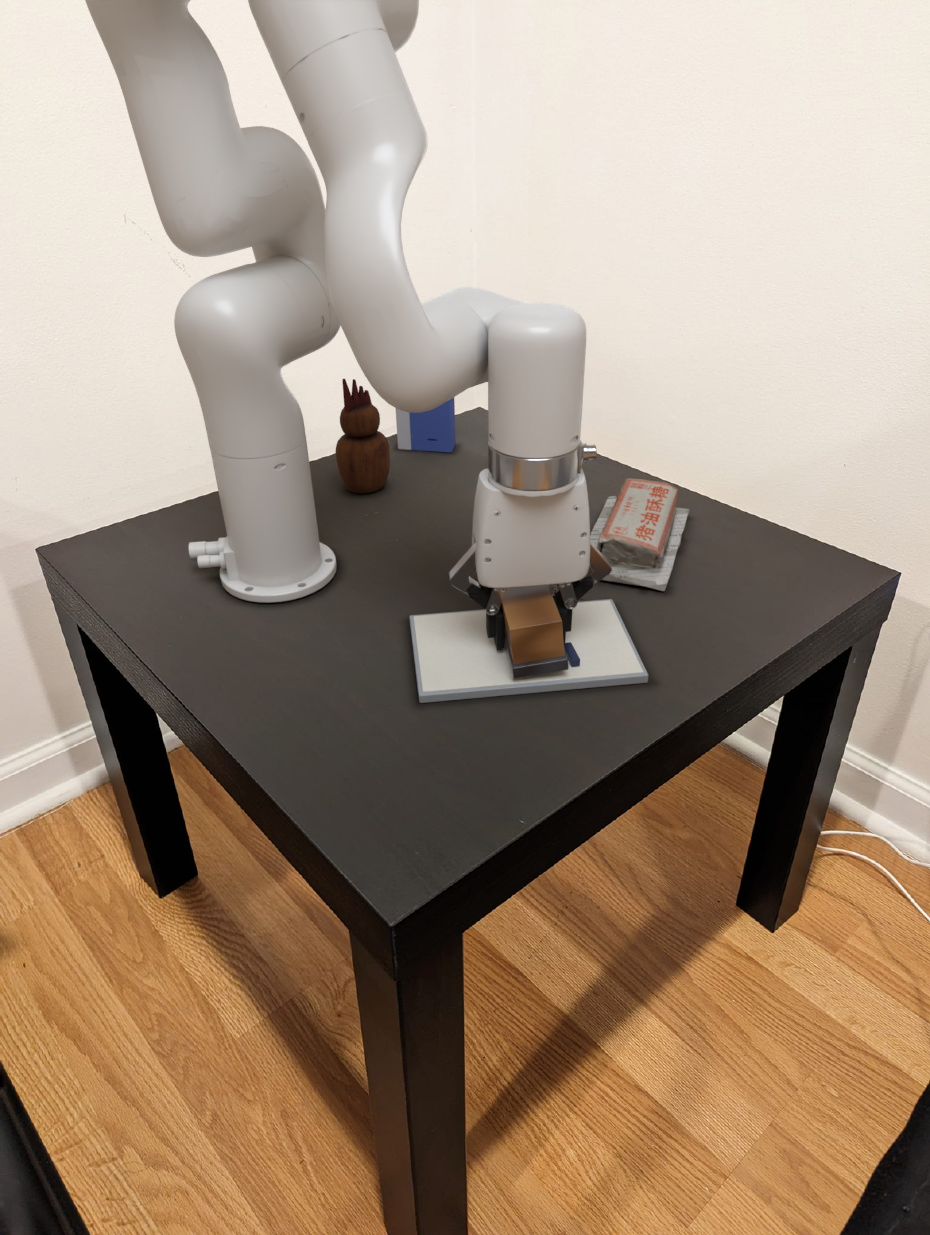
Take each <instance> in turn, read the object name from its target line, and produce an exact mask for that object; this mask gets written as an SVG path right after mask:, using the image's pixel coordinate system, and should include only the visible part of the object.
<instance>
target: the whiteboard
mask: <svg viewBox="0 0 930 1235" xmlns="http://www.w3.org/2000/svg"><path fill="white" fill-rule="evenodd" d="M577 602H578V604H577V606H576V607H575V608H573V610H572V626H571V631H570V632H566V639H565V643H568V642H571V643H572V645H573V647H574V649H575V651H576V652H577V654H578V656H579V658H580V666H577V667H571V665H570V663H569V661H568V668H569V669H568V670H563V671H557V672H551V673H545V674H539V675H533V676H527V677H521V678H515V679H514V678H513V675H512V671H511V667H510V664H509V660H508V656H507V652H506V649H505V645H504V648H503V649H502V650H497V649H496V645H495V641H494V638H488V636H487V631H486V610H485V609H484V608H482V609H473V610H471V609H470V610H459V611H449V612H447V611H446V612H437V613H424V614H423V613H422V614H412V615H409V627H410V628H409V629H410V636H411V637H410V638H411V644H412V653H413V663H414V670H415V679H416V688H417V694H418V702H419V704H425V703H427V704H428V703H439V702H447V701H449V702H450V701H459V700H461V701H462V700H469V699H470V700H471V699H482V698H483V699H484V698H493V697H494V698H495V697H503V696H504V697H506V696H515V695H526V694H538V693H548V692H549V693H550V692H560V691H570V690H571V691H572V690H582V689H591V688H601V687H602V688H605V687H614V686H626V685H627V686H628V685H634V684H635V685H638V684H647V683H648V682H649V673H648V671H647V669H646V667H645V665H644V663H643V661H642V659H641V656H640V655H639V652H638V651H637V648H636V646H635V644H634V642H633V640H632V638H631V636H630V633H629V632H628V629H627V628H626V624H625V623H624V621H623V619H622V616H621V615H620V613H619V610H618V609H617V607H616V604H615V602H614V600H613V599H612V598H608V599H595V600H582V601H577Z"/></svg>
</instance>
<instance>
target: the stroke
mask: <svg viewBox="0 0 930 1235" xmlns="http://www.w3.org/2000/svg"><path fill="white" fill-rule="evenodd" d="M564 650H565V653H566V656H567V658H568V661H569V663H570V665H571V667H577V666H580V658H579V656H578V654H577V652H576V651H575V649H574V647H573V645H572V643H571V642H568V643H564Z"/></svg>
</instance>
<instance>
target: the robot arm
mask: <svg viewBox="0 0 930 1235" xmlns="http://www.w3.org/2000/svg"><path fill="white" fill-rule="evenodd" d="M84 1H85V4H86V6H87V9H88V11H89V14H90V16H91V19H92V21H93V23H94V26H95V29H96V31H97V33H98V34H99V37H100V40H101V42H102V44H103V47H104V48H105V50H106V53H107V55H108V57H109V60H110V63H111V65H112V68H113V70H114V72H115V75H116V78H117V81H118V82H119V87H120V90H121V92H122V95H123V98H124V102H125V107H126V110H127V114H128V117H129V121H130V124H131V128H132V131H133V135H134V138H135V141H136V144H137V145H136V146H137V148H138V151H139V156H140V158H141V162H142V164H143V168H144V171H145V175H146V179H147V182H148V185H149V188H150V192H151V195H152V198H153V201H154V205H155V208H156V211H157V214H158V216H159V219H160V222H161V224H162V227H163V229H164V232H165V233H166V235H167V237H168V239H169V240H170V242H171V243H172V244H173V245H174V246H175V247H176V248H177V249H178V250H179V251H181V253H185V254H187V255H189V256H192V257H198V258H211V257H218V256H222V255H227V254H230V253H234V252H238V251H242V250H246V249H249V248H251V250H252V252H253V256H254V260H255V262H252V263H245V264H243V265H239V266H235V267H233V268H229V269H227V270H226V269H225V270H224V271H220V272H217V273H214V274H212V275H209V276H207V277H205V278H203V279H200V280H199V281H198V282H195V284H194V283H193V285H192V286H191V287H189V288H188V289H187V290H186V291H185V293H184V294H183V295H182V296H181V298H180V299H179V301H178V303H177V306H176V309H175V313H174V319H173V320H174V321H173V324H174V325H173V326H174V333H175V338H176V341H177V345H178V348H179V351H180V353H181V355H182V358H183V360H184V362H185V365H186V368H187V370H188V373H189V374H190V377H191V381H192V382H193V385H194V388H195V392H196V394H197V397H198V401H199V402H198V403H199V405H200V409H201V412H202V418H203V422H204V427H205V432H206V436H207V441H208V446H209V451H210V455H211V456H210V457H211V462H212V465H213V470H214V476H215V481H216V486H217V487H216V488H217V491H218V497H219V502H220V507H221V512H222V517H223V522H224V527H225V532H226V536H225V537H218V540H214V541H206V540H203V541H189V542H188V555H189V559H190V560H191V561H196V560H197V567H198V569H209V568H214V567H215V568H216V567H220V568H219V578H220V583H221V586H222V587H223V589H224V590H225V591H226V592H228V594H230V595H232V596H233V597H235V598H238V599H240V600H244V601H247V602H253V603H263V604H264V603H265V604H272V603H273V604H275V603H283V602H289V601H294V600H297V599H301V598H305V597H307V596H309V595H311V594H314V593H316V592H318V591H319V590H321V589H322V588H324V587H325V586H326V585H328V584H329V583H330V582H331V580H332V579H333V578H334V577H335V574H336V572H337V568H338V567H337V564H338V563H337V556H336V554H335V553H334V551H333V550H332V549H331V547H329V546H328V545H327V544H324V543H323V542H322V541H321V542H320V536H319V528H318V520H317V512H316V504H315V496H314V488H313V482H312V480H313V479H312V474H311V465H310V456H309V448H308V443H307V442H308V441H307V435H306V428H305V421H304V420H305V419H304V415H303V412H302V408H301V406H300V404H299V402H298V400H297V398H296V396H295V395H294V393H293V392H292V390H291V388H290V387H289V386H288V384H287V383H286V382H285V380H284V377H283V375H282V368H284V367H286V366H287V365H290V364H291V363H292V362H295V361H297V360H299V359H302V358H303V357H305V356H308V355H310V354H312V353H315V352H316V351H319V350H320V349H322V348H324V347H325V346H327V345H328V344H329V343H331V342H332V341H333V339H335V337H336V336H337V334H338V333H339V331H340V329H342V331H343V334H344V336H345V338H346V340H347V343H348V345H349V347H350V350H351V352H352V354H353V356H354V358H355V360H356V362H357V364H358V366H359V368H360V369H361V371H362V373H363V375H364V377H365V378H366V380H367V381H368V383H369V384H370V386H371V387H372V388H373V390H374V391H375V392H376V393H377V394H378V396H379V397H380V398H381V399H383V400H384V401H385V402H386V403H387V404H388V405H389V406H391V407H393V408H395V409H396V408H397V409H399V410H402V411H405V412H409V413H421V412H426V411H430V410H432V409H435V408H437V407H438V406H440V405H442V404H444V403H446V402H447V401H449V400H451V399H452V398H454V399H455V397H457V396H458V395H460V394H462V393H464V392H465V391H466V390H469V389H470V388H473V387H477V386H478V385H483V384H485V383H487V433H488V434H487V437H488V438H487V440H488V442H487V448H488V449H487V452H488V453H487V456H488V457H487V458H488V459H487V460H488V461H487V462H488V463H487V464H488V465H487V467H488V468H484V469H482V470H481V471H480V472H479V474H478V478H477V483H476V487H475V494H474V502H473V511H472V530H471V546H470V547H469V548H468V550H467V551H466V552H465V553H464V554H463V555H462V556H461V558H460V559H459V560H458V561H457V562H456V564H454V566H453V567H452V568H451V569H450V571H449V572H448V574H447V578H448V582H449V584H450V586H452V587H453V588H455V589H456V590H458V591H460V592H461V593H463V594H465V595H467V596H468V597H469V598H470V599H471V600H472V601H473V602H475V603H476V604H478V606H480V607H481V608H482V609H485V610H486V631H487V636H488V638H494V641H495V645H496V649H497V650H502V649H503V648H504V642H505V620H504V614H503V611H502V606H501V604H502V601H503V598H504V595H505V593H506V590H507V588H509V587H524V586H537V585H557V589H558V591H556V592H554V595H552V596H553V599H554V601H555V604H556V607H557V609H558V612H559V614H560V617H561V620H562V627H563V641H564V643H565V639H566V632H570V631H571V626H572V610H573V608H575V607H576V606H577V604H578V602H579V601H580V600H581V599H582V598H583V597H584V596H585V595H586V594H588V593H589V591H591V590H592V589H593V587H594V585H595V584H598V583H599V582H600V581H603V580H602V579H603V578H604V577H606V576H607V575H608V574H610V573H611V571H612V568H611V566H610V564H609V562H608V560H607V559H606V558H605V557H604V556H603V554H602V553H601V552H600V551H599V550H598V549H597V548H596V547H595V546H594V545H593V543H592V542H591V541H590V534H591V522H590V520H591V519H590V505H589V494H588V486H587V480H586V475H585V472H584V469H583V468H582V467H583V466H584V463H585V464H587V463H588V462H589V461H590V462H591V461H596V460H597V455H598V454H597V445H596V444H587V443H586V442H584V443H583V442H582V440H581V434H582V418H583V402H584V388H585V386H584V385H585V369H586V354H587V352H586V351H587V326H586V322H585V320H584V318H583V316H582V314H580V312H578V311H577V310H575V309H574V308H572V307H569V306H566V305H563V304H560V303H554V302H543V301H542V302H541V301H540V302H538V301H537V302H536V301H535V302H533V301H532V302H524V301H519V300H518V299H513V298H511V297H508V296H504V295H502V294H499V293H496V292H493V291H490V290H488V289H484V288H480V287H473V286H463V287H456V288H453V289H450V290H448V291H445V292H443V293H441V294H439V295H437V296H435V297H431V298H428V299H425V300H424V301H422V302H421V300H420V298H419V295H418V293H417V290H416V289H415V285H414V283H413V281H412V278H411V275H410V271H409V269H408V266H407V262H406V257H405V253H404V247H403V239H402V218H403V211H404V210H403V209H404V205H405V201H406V198H407V194H408V192H409V189H410V186H411V185H412V183H413V180H414V178H415V176H416V174H417V171H418V169H419V167H420V166H421V164H422V162H423V161H424V159H425V157H426V154H427V152H428V146H429V140H428V139H429V137H428V132H427V130H426V127H425V124H424V121H423V120H422V117H421V114H420V112H419V109H418V107H417V104H416V102H415V99H414V97H413V94H412V92H411V89H410V87H409V84H408V82H407V80H406V77H405V75H404V72H403V70H402V67H401V65H400V62H399V59H398V57H397V54H396V53H397V52H399V51H400V50H402V48H403V47H405V46H406V44H407V43H408V42H409V41H410V39H411V37H412V35H413V32H414V31H415V29H416V26H417V22H418V18H419V10H420V9H419V8H420V0H247V4H248V6H249V9H250V12H251V15H252V17H253V19H254V21H255V24H256V27H257V29H258V32H259V34H260V36H261V38H262V41H263V43H264V46H265V48H266V51H267V53H268V55H269V57H270V59H271V61H272V64H273V66H274V68H275V71H276V73H277V75H278V77H279V80H280V82H281V85H282V87H283V89H284V91H285V93H286V96H287V98H288V100H289V102H290V105H291V107H292V109H293V111H294V112H293V113H294V114H295V116H296V119H297V121H298V123H299V125H300V128H301V129H302V132H303V134H304V137H305V139H306V141H307V144H308V147H309V149H310V152H311V153H312V156H313V158H314V160H315V162H316V164H317V167H318V169H319V171H320V174H321V176H322V179H323V182H324V186H325V189H326V190H325V191H326V200H325V201H326V202H325V201H324V196H323V192H322V187H321V185H320V184H321V183H320V181H319V177H318V174H317V172H316V170H315V168H314V166H313V164H312V162H311V160H310V158H309V157H308V155H307V153H306V152H305V151H304V149H303V148H302V146H300V144H298V142H297V141H296V140H295V139H293V138H292V137H291V136H290V135H289V134H287V133H285V132H283V131H282V130H280V129H277V128H274V127H270V126H263V125H257V126H256V125H253V126H246V127H241V126H240V123H239V120H238V117H237V113H236V110H235V106H234V102H233V98H232V94H231V90H230V85H229V84H230V83H229V80H228V76H227V74H226V71H225V68H224V65H223V63H222V61H221V58H220V57H219V55H218V53H217V51H216V49H215V48H214V46H213V43H212V42H211V41H210V39H209V37H208V35H206V32H205V31H204V29H203V28H202V27H201V26H200V24H199V23H198V22H197V21H196V19H195V18H194V17H193V15H192V14H191V12H190V11H189V9H188V5H189V4H190V2H191V0H84ZM589 563H590V566H589ZM475 571H476V576H477V579H476V578H472V576H471V575H472V574H473V573H474V572H475Z"/></svg>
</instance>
